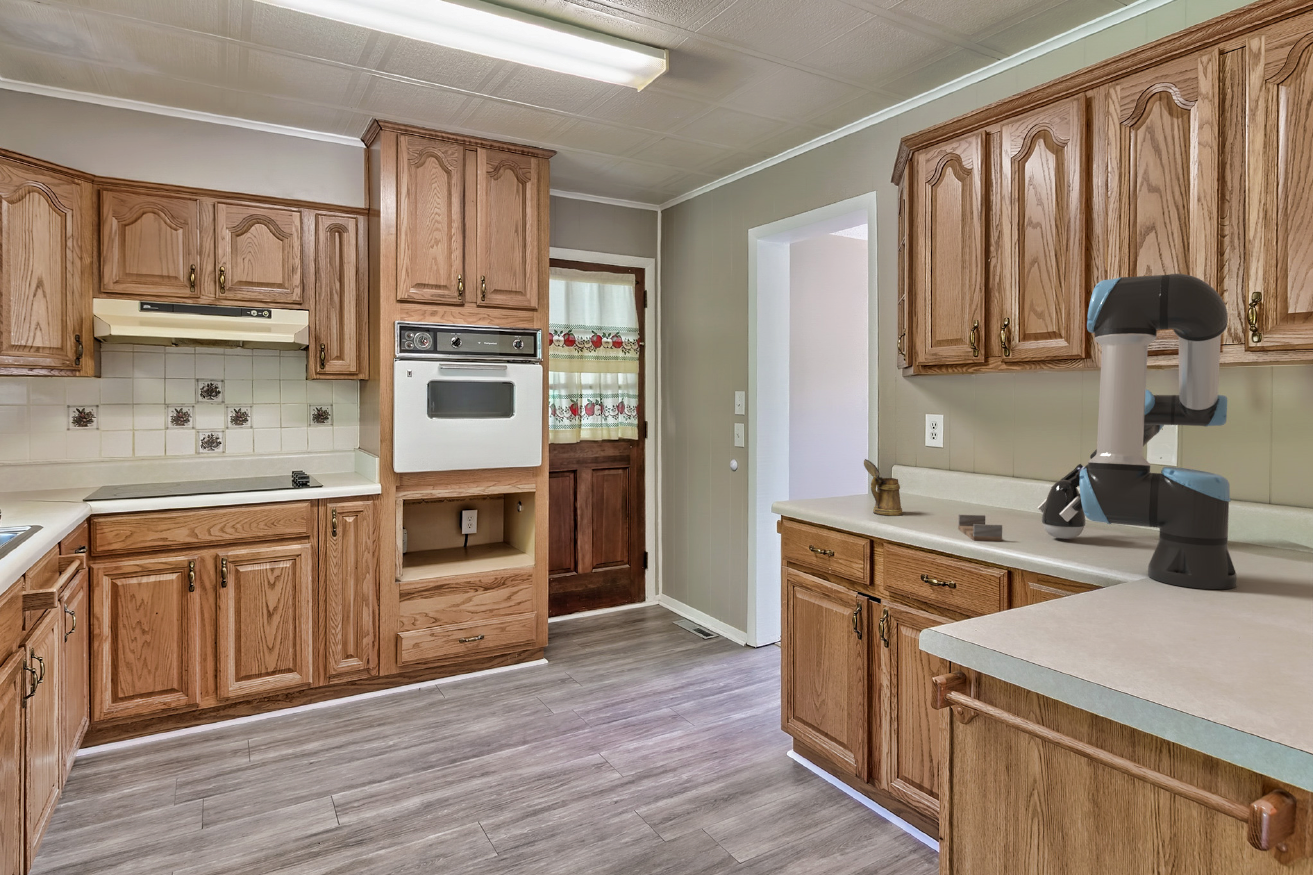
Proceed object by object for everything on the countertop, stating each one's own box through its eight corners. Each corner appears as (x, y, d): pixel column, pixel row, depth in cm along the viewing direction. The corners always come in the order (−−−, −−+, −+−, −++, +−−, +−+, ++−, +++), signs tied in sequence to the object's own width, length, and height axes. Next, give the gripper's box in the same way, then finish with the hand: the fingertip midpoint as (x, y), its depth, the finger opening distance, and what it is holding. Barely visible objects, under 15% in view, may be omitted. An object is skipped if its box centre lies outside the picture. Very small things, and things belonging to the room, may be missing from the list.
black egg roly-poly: (1041, 538, 197) (1042, 480, 196) (1041, 531, 206) (1043, 476, 205) (1085, 542, 192) (1087, 483, 191) (1084, 535, 201) (1086, 478, 200)
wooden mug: (855, 512, 243) (856, 457, 241) (891, 510, 247) (892, 456, 246) (872, 517, 234) (872, 460, 233) (908, 515, 239) (909, 458, 237)
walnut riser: (1001, 541, 198) (1002, 525, 197) (974, 540, 199) (974, 524, 198) (984, 529, 213) (984, 515, 213) (958, 529, 214) (958, 514, 214)
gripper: (1151, 469, 187) (1087, 532, 188) (1095, 461, 210) (1038, 517, 210) (1131, 448, 187) (1067, 511, 187) (1077, 442, 209) (1020, 498, 210)
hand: (1052, 514), depth 199 cm, fingers closed on black egg roly-poly, 10 cm apart
